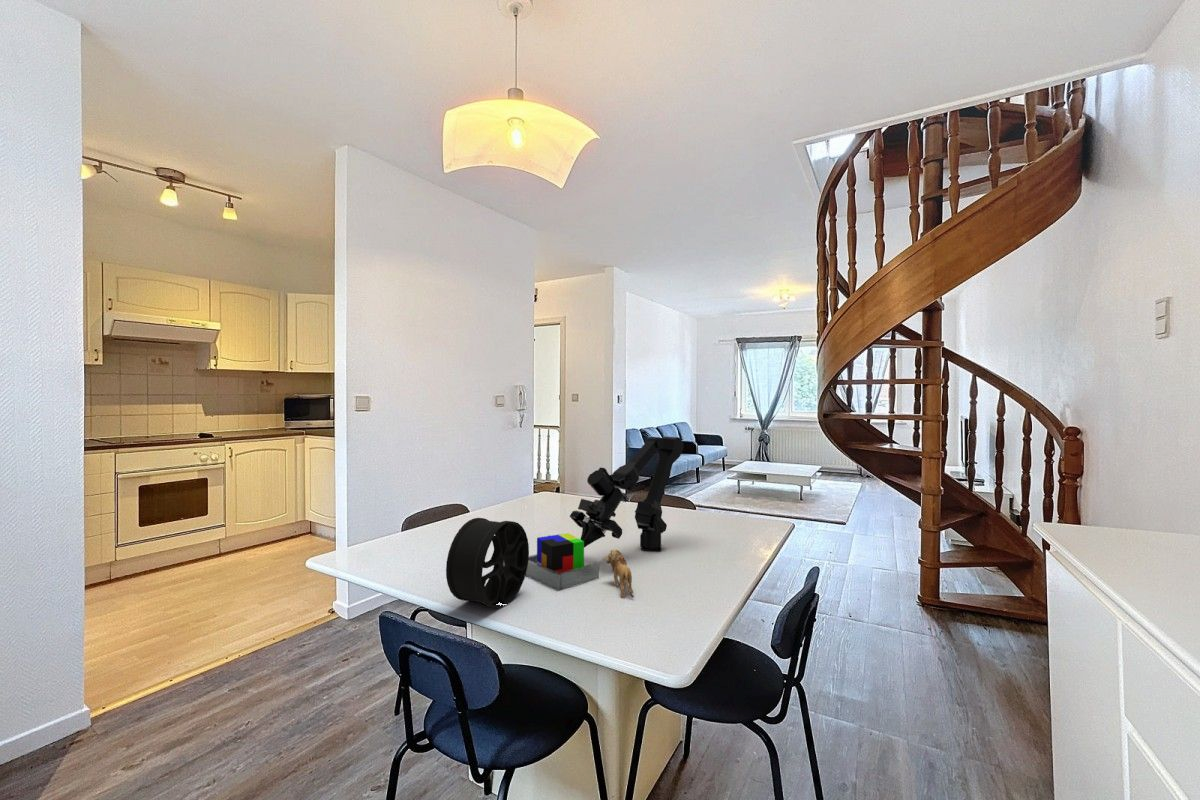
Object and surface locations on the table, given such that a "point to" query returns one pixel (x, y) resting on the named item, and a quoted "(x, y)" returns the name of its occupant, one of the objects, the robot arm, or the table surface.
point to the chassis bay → (561, 574)
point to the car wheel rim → (470, 561)
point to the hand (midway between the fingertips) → (580, 547)
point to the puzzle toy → (560, 552)
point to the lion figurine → (620, 571)
